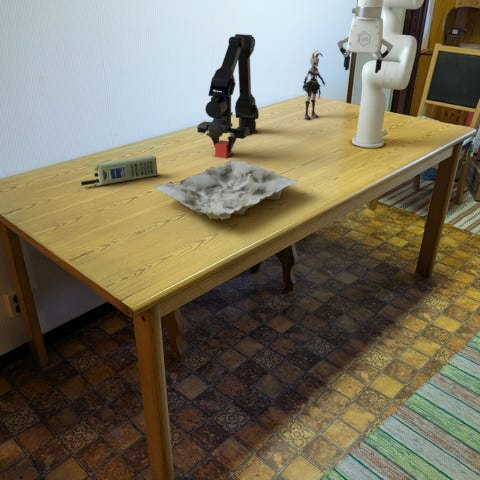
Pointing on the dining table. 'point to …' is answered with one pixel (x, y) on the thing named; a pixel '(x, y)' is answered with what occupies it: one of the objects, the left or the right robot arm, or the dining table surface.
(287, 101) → the dining table surface
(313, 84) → the figurine
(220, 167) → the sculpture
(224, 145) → the block
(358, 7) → the right robot arm
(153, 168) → the handheld radio
